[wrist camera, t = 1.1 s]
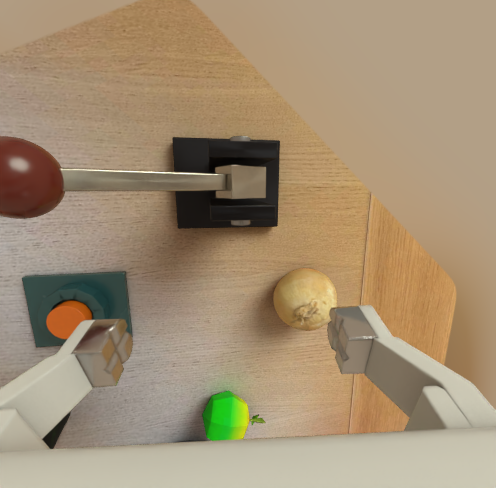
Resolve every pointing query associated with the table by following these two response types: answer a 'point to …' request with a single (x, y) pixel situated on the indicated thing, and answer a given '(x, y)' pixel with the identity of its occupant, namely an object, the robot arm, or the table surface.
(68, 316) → the button
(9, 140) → the lever
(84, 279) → the button box
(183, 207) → the bracket
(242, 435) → the apple
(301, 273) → the onion
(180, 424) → the table surface
